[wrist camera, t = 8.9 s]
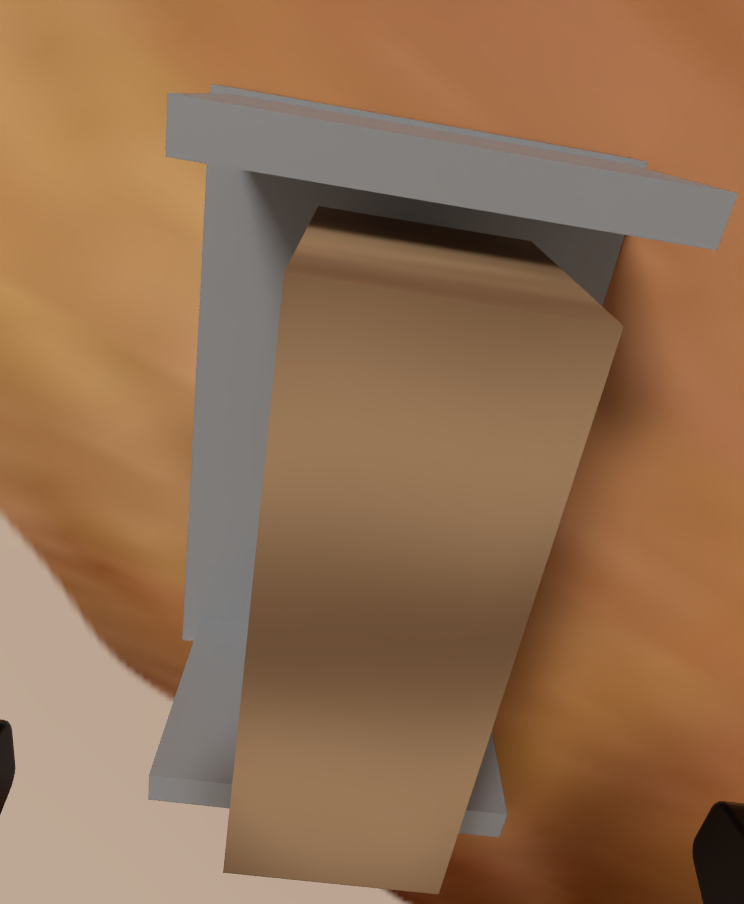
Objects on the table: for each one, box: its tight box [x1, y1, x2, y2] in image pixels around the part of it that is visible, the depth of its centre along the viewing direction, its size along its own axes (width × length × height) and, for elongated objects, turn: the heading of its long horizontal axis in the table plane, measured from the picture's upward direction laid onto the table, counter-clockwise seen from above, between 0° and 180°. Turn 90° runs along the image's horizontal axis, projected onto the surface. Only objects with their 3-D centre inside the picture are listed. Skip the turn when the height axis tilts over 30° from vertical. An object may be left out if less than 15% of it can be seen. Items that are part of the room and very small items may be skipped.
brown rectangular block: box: [223, 206, 624, 894], centre depth 13 cm, size 11×4×6 cm, turn 171°
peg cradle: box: [148, 84, 738, 837], centre depth 16 cm, size 14×9×6 cm, turn 171°
